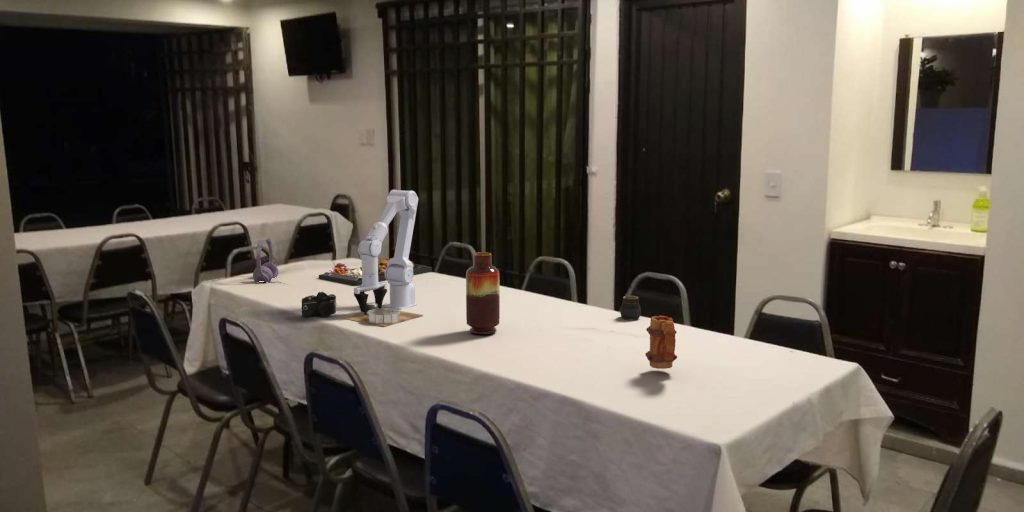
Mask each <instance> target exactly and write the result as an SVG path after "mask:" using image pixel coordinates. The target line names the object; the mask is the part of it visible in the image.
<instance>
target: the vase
mask: <svg viewBox="0 0 1024 512" xmlns="http://www.w3.org/2000/svg"><path fill="white" fill-rule="evenodd" d="M500 293H501V292H500V271H499V269H498V268H496V266H493V264H492V253H491V252H487V251H486V252H481V251H480V252H474V253H473V266H470V267H469V268H468V269H467V270H466V273H465V302H466V303H465V304H466V305H465V308H466V309H465V311H466V312H465V313H466V315H465V317H466V325H467V326H469V327H470V328H469V333H471V334H474V335H489V334H490V335H491V334H495V333H497V331H498V330H497V328H496V327H497V326H498V325H499V324H500V302H501V301H500V297H501V296H500Z"/></svg>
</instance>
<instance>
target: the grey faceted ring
mask: <svg viewBox="0 0 1024 512" xmlns="http://www.w3.org/2000/svg"><path fill="white" fill-rule="evenodd" d="M400 311H401V310H400V309H395V308H389V307H385V308H384V307H381V308H380V309H379V308H378V309H373V310H369V311H368V312H367V321H368V322H369V323H374V324H388V323H394V322H398V321H399V320H400Z"/></svg>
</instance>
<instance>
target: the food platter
mask: <svg viewBox="0 0 1024 512" xmlns="http://www.w3.org/2000/svg"><path fill="white" fill-rule="evenodd" d="M392 258H393V257H392ZM392 258H391V257H390V258H388V257H387V258H383V259H381V258H378V283H379V282H385V281H386V282H388V281H387V280H386V278H385V270H386V268H387V265H388V261H390V260H391V259H392ZM409 261H410V262H411V263H412V264H413V276H418V275H422V274H428V273H433V268H432V266H430V265H429V266H428V265H422V264H416V263H414V261H411V260H409ZM331 262H332V263H333V265H334V267H333V266H332V267H331V268H332V270H328V271H329V272H327V271H325V272H323V274H319V275H318V280H323V281H327V282H334V283H338V284H344V285H348V286H354V287H359V286H361V284H362V266H360V267H355V268H349V267H347V266H348V265H346V264H345V263H341V262H339V263H338V262H337V264H336V265H335V263H334V261H333V260H331ZM399 266H400V265H399ZM401 267H404V266H401Z"/></svg>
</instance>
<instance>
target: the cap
mask: <svg viewBox="0 0 1024 512" xmlns="http://www.w3.org/2000/svg"><path fill="white" fill-rule="evenodd" d="M373 309H379V308H378V303H375V302H367V310H366V312H365V313H364V312H363V313H364V314H365V315H367V312H368V311H369V310H373Z"/></svg>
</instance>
